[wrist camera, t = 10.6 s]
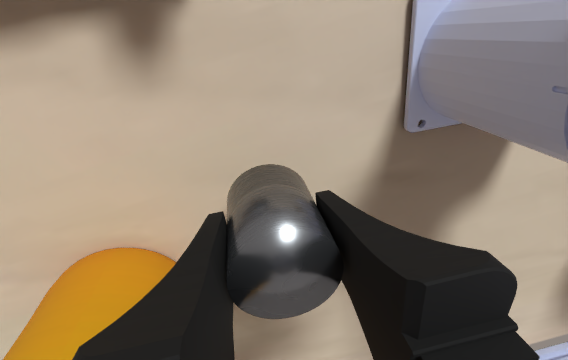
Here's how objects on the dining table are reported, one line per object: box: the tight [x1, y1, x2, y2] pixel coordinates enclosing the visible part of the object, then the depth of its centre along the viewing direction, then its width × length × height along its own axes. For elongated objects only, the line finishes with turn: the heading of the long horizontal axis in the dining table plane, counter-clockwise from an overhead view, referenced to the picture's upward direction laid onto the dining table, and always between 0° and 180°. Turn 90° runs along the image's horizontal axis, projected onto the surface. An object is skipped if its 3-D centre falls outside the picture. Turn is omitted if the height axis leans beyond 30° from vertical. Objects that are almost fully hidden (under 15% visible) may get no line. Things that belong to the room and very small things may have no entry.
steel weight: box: [227, 164, 344, 319], centre depth 12 cm, size 4×4×5 cm
